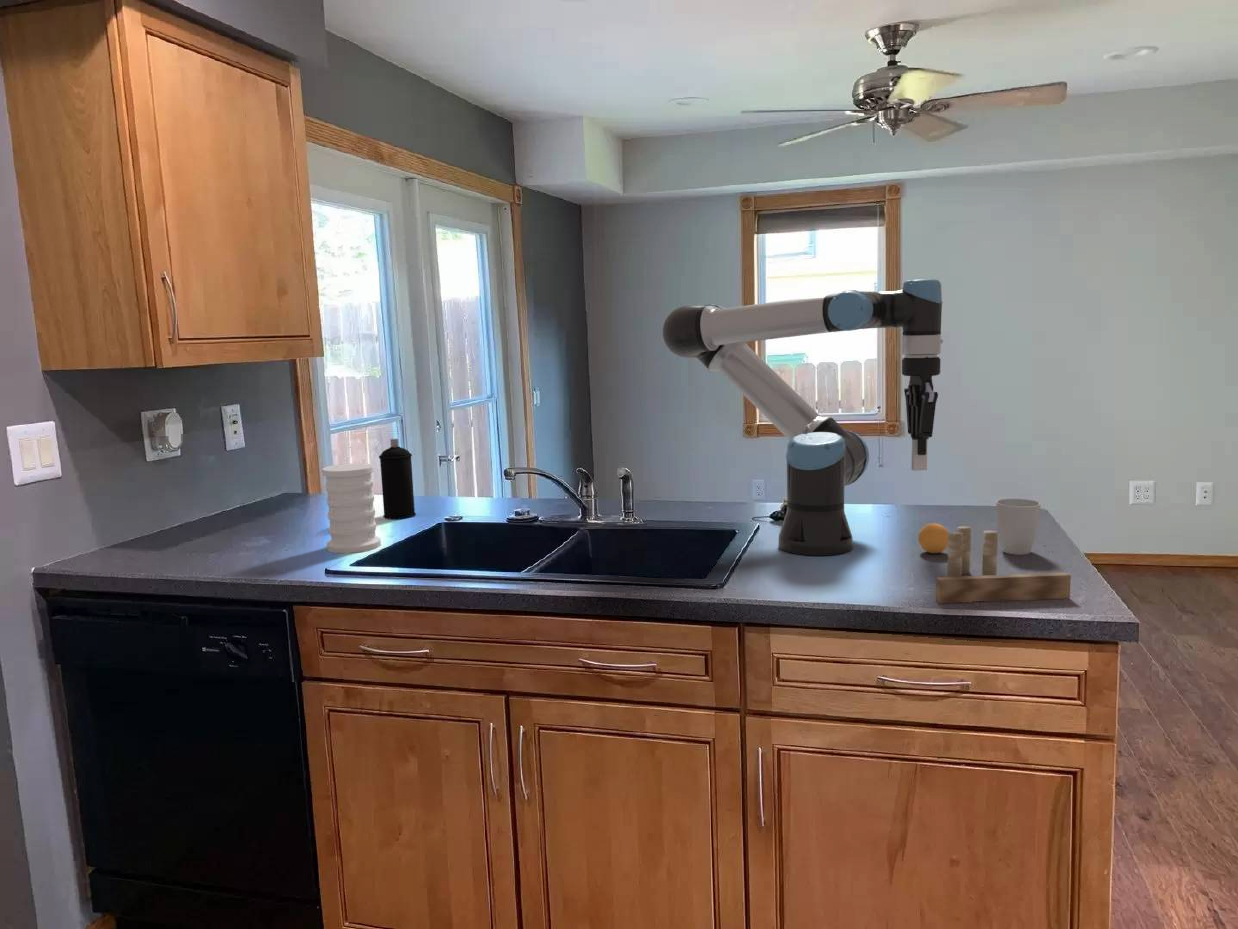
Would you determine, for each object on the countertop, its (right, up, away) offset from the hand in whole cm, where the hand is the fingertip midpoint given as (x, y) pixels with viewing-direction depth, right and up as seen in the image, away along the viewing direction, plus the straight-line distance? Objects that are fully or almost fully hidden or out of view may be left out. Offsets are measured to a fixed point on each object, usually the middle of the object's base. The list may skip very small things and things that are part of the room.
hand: (919, 469), depth 191 cm
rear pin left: (+4, -19, -25) cm, 32 cm away
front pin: (+1, -19, -21) cm, 28 cm away
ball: (+1, -14, -7) cm, 16 cm away
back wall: (+2, -21, -37) cm, 43 cm away
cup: (+17, -17, -8) cm, 25 cm away
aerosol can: (-119, -12, +44) cm, 128 cm away
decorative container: (-122, -17, +13) cm, 124 cm away
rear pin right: (-2, -20, -25) cm, 32 cm away
